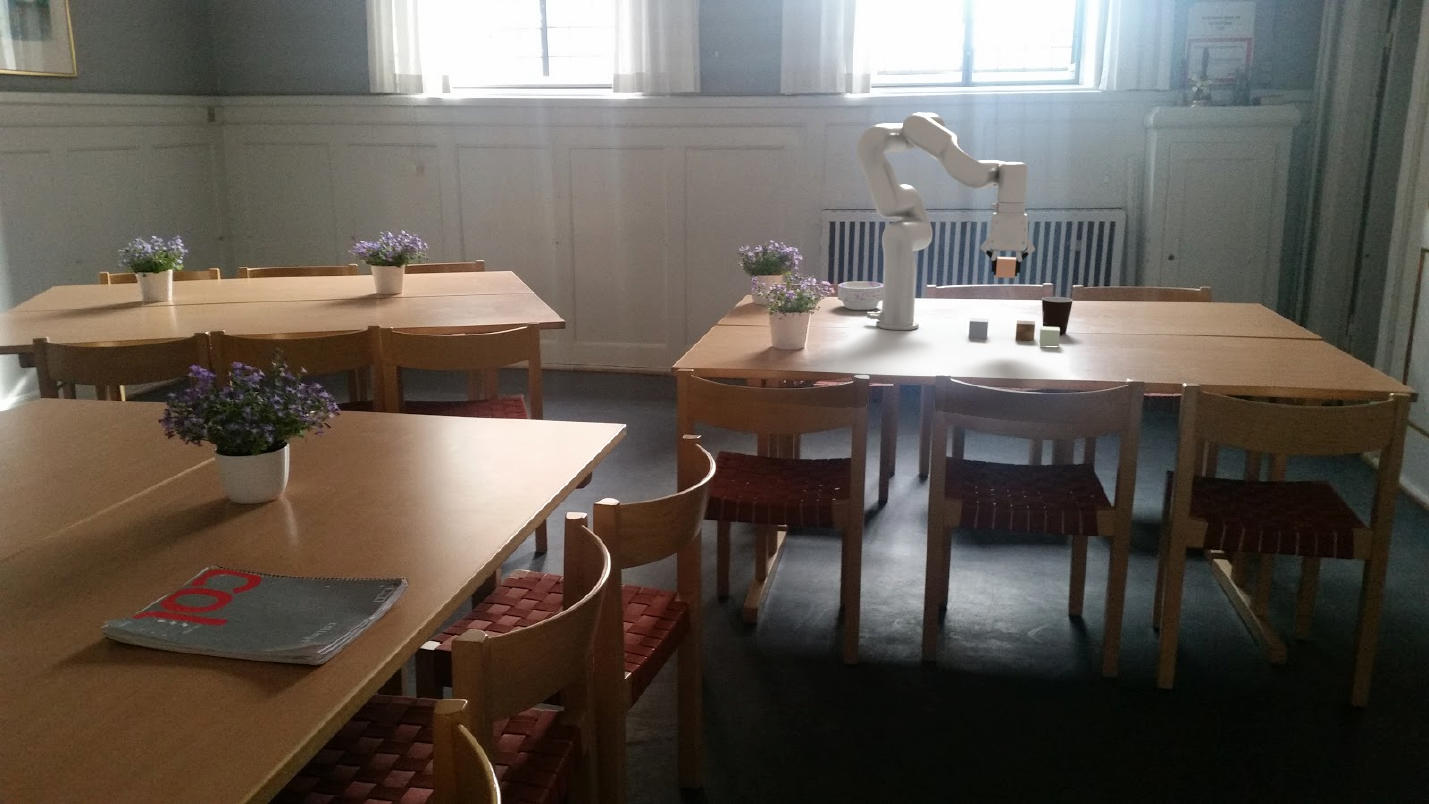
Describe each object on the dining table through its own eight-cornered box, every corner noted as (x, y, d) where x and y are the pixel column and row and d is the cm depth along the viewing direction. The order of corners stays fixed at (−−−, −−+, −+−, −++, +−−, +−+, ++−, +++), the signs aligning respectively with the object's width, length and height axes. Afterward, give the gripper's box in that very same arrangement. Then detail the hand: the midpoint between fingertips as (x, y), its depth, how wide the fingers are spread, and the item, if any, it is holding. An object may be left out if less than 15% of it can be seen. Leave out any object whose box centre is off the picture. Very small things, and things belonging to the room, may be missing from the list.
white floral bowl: (828, 306, 367) (829, 282, 364) (867, 302, 373) (868, 279, 371) (852, 313, 353) (853, 289, 351) (892, 310, 359) (894, 286, 357)
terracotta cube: (995, 277, 305) (997, 259, 304) (996, 274, 310) (997, 256, 308) (1014, 278, 304) (1016, 259, 302) (1014, 275, 308) (1016, 257, 307)
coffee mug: (1063, 337, 319) (1066, 303, 317) (1034, 333, 324) (1037, 299, 322) (1077, 331, 328) (1080, 297, 326) (1049, 327, 333) (1052, 294, 331)
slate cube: (968, 338, 318) (969, 321, 317) (969, 334, 323) (970, 317, 321) (986, 339, 317) (987, 322, 315) (987, 335, 321) (988, 318, 320)
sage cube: (1039, 347, 307) (1040, 329, 305) (1039, 343, 311) (1040, 326, 310) (1058, 348, 305) (1059, 330, 304) (1057, 344, 310) (1059, 327, 309)
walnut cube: (1015, 340, 315) (1016, 323, 313) (1015, 337, 319) (1016, 320, 318) (1033, 341, 313) (1035, 324, 312) (1033, 338, 318) (1035, 321, 317)
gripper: (977, 208, 300) (973, 275, 305) (1043, 210, 296) (1037, 278, 301) (979, 206, 307) (974, 271, 312) (1042, 208, 303) (1037, 274, 308)
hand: (1005, 274), depth 306 cm, fingers closed on terracotta cube, 5 cm apart
